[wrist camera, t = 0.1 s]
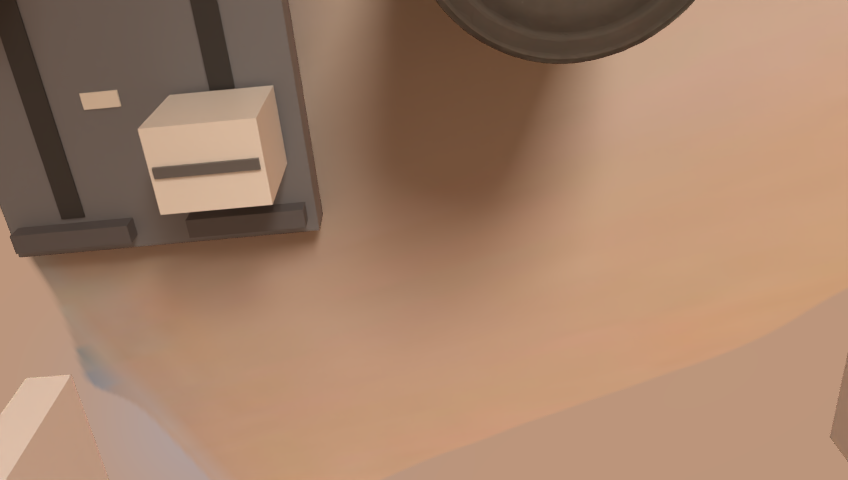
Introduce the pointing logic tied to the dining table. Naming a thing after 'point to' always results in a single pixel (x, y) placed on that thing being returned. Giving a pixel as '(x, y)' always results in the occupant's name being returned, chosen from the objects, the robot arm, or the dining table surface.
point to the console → (134, 117)
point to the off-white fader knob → (215, 150)
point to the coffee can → (563, 25)
